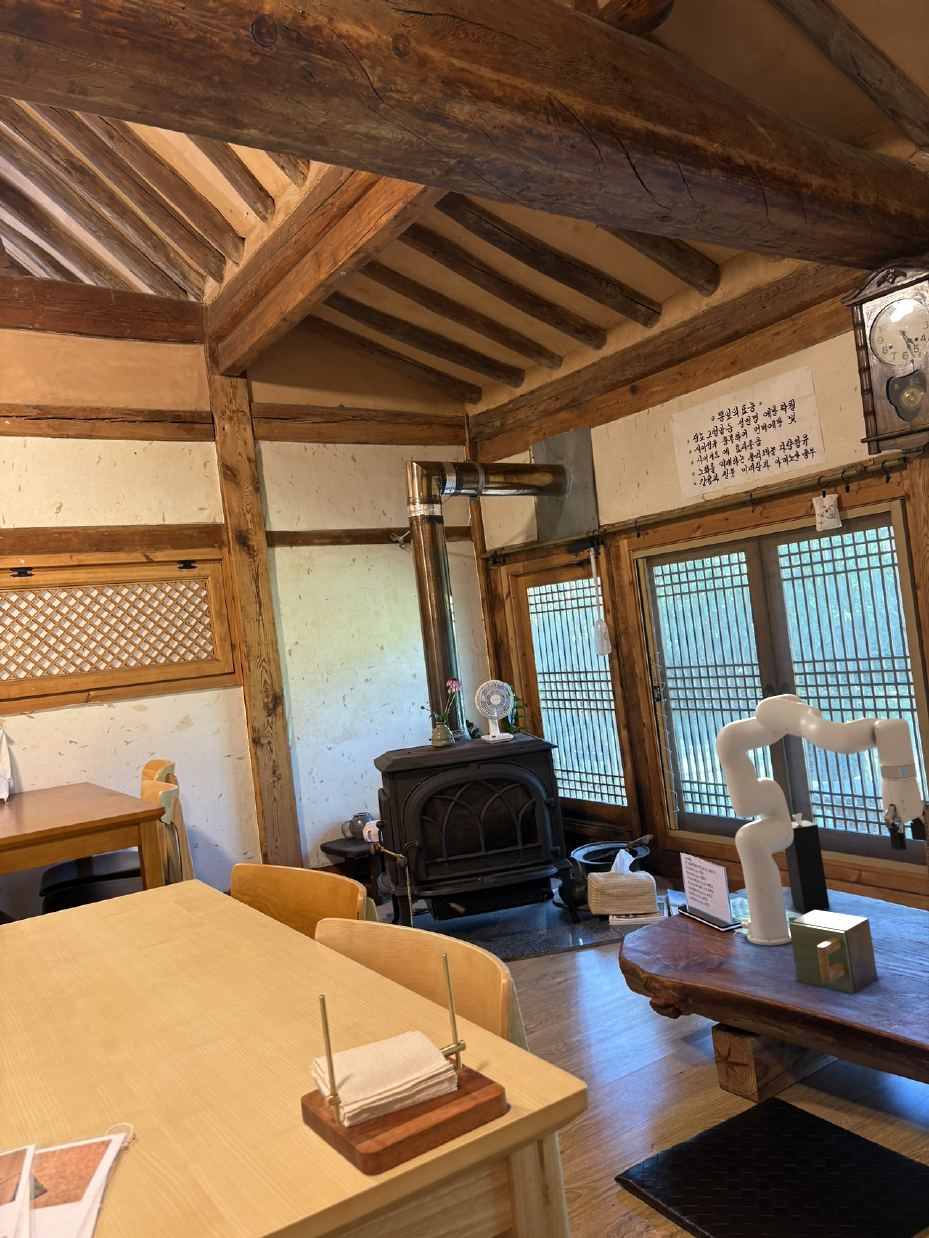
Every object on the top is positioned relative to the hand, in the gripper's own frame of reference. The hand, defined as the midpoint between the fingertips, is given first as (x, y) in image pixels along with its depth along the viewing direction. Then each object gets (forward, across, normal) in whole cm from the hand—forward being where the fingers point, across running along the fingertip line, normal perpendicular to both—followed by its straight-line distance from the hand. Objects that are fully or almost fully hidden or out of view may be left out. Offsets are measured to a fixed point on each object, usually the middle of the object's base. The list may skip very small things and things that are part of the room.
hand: (909, 844), depth 210 cm
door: (+30, +23, -15) cm, 40 cm away
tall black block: (+30, -31, -49) cm, 65 cm away
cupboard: (+30, +13, -15) cm, 36 cm away
